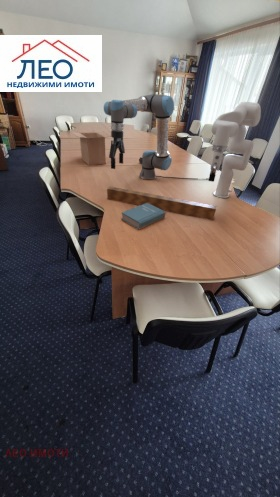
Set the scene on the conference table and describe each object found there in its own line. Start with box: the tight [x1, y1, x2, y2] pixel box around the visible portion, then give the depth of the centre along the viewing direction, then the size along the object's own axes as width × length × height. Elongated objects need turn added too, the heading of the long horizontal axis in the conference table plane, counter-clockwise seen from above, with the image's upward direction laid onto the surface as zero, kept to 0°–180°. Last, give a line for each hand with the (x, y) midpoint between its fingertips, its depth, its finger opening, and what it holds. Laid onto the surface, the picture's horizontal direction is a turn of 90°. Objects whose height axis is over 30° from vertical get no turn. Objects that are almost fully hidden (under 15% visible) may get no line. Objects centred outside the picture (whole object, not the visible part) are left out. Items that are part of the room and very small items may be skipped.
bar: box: [106, 185, 217, 221], centre depth 153 cm, size 76×5×8 cm, turn 72°
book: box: [121, 203, 166, 230], centre depth 139 cm, size 23×16×5 cm
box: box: [70, 129, 112, 166], centre depth 229 cm, size 44×36×27 cm
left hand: (117, 165), depth 148 cm, fingers open, 13 cm apart
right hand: (211, 178), depth 133 cm, fingers open, 9 cm apart
